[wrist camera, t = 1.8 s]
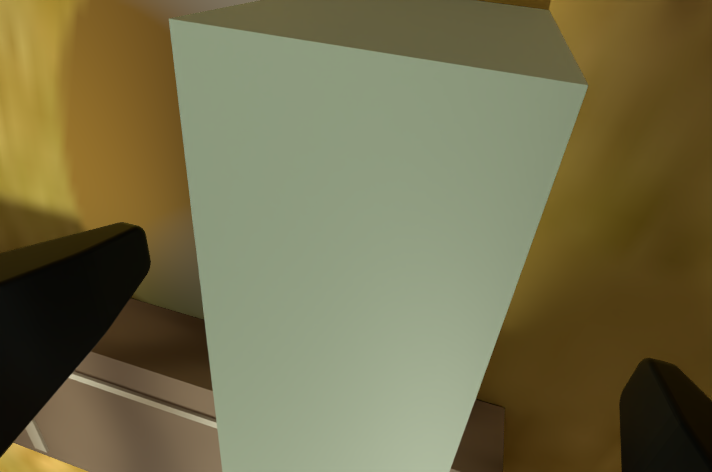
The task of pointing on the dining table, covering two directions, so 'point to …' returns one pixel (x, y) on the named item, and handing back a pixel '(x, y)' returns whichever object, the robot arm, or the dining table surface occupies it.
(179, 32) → the block
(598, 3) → the dining table surface
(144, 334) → the walnut board
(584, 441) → the dining table surface
